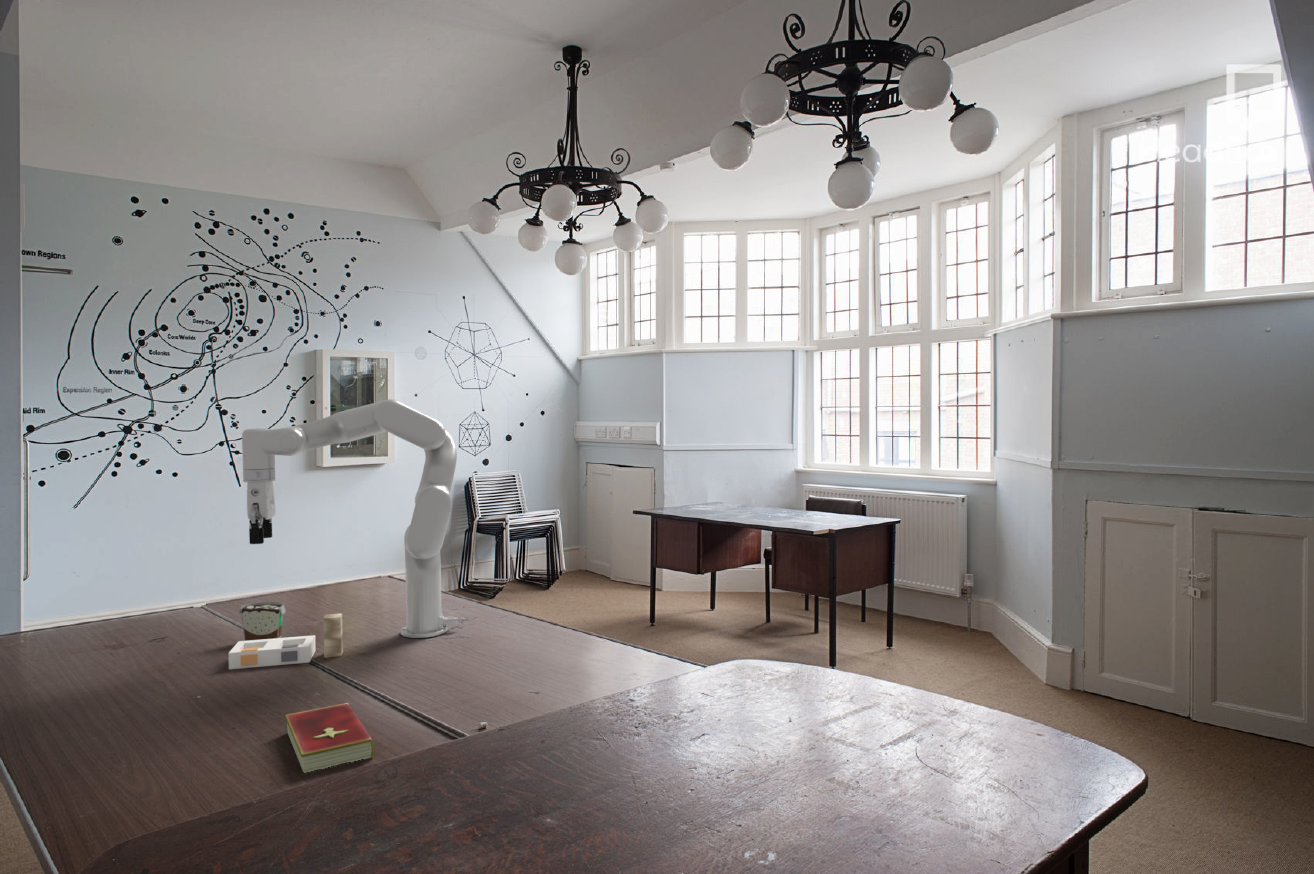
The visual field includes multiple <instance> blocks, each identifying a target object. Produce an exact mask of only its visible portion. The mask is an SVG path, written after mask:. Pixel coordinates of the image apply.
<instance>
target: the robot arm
mask: <svg viewBox="0 0 1314 874" xmlns="http://www.w3.org/2000/svg"><path fill="white" fill-rule="evenodd" d="M387 432H388V433H390V434H391V435H393V436H395V437H397V438H400V439H402V440H404V441H406V442H409V443H411V444H412V445H415V446H417V447H418V448H421V449H422V450H423V451H424V454H425V457H424V459H425V460H424V464H423V470H422V474H421V478H420V482H419V486H418V488H417V491H416V493H415V497H414V509H413V512H412V517H411V521H410V524H409V526H407V527H406V530H405V532H404V536H403V537H404V539H403V542H404V544H403V545H404V563H405V564H404V566H405V569H404V571H405V572H404V573H405V617H406V618H405V619H406V620H405V621H406V622H405V623H406V626H404V627H402V628H400V635H401V636H402V637H405V638H408V639H409V638H411V639H425V638H431V637H432V638H433V637H436V636H437V637H438V636H441V635H443V634H445V633H447V632H448V625H459V617H458V616H453V615H452V616H445V615H444V614H443V612H442V569H441V568H442V561H441V560H442V559H441V549H442V548H443V544H444V539H445V538H446V537H445V536H446V532H447V528H448V525H449V521H450V517H451V514H452V509H453V498H452V495H451V490H452V486H453V480H454V475H455V471H456V466H457V460H458V459H457V457H458V456H457V454H458V453H457V448H456V444H455V442H454V439H453V437H452V435H451V434H450V433H449V432H448V430H447V429H446V428H445V426H444V425H443V423H442V422H440V421H439V420H437V419H435V418H433V417H431V416H428V415H426V414H424V413H422V412H420V411H418V410H416V409H413V408H412V407H410V406H408V405H406V404H404V403H402V402H400V401H399V400H396V399H390V398H389V399H384V400H381V401H377V402H374V403H373V402H372V403H369V404H365V405H361V406H358V407H355V408H354V407H353V408H350V409H345V410H341V411H339V412H335V413H333V414H331V415H329V416H326V417H324V418H323V417H322V418H320V419H317V420H312V421H309V422H305V423H301V424H297V425H293V426H288V427H287V426H286V427H282V428H274V429H272V428H271V429H270V428H265V427H264V428H262V427H260V428H245V429H244V430H243V431H242V433H241V448H242V449H241V450H242V451H241V452H242V454H241V455H242V480H243V481H242V482H243V483H246V484H247V485H246V487H247V490H246V513H247V518H248V520H249V526H248V527H249V528H248V534H249V535H248V536H249V537H248V538H249V544H250V545H262V544H264V543H265V540H264V539H270V538H273V522H272V520H273V519H272V518H273V517H274V516H275V515H276V513H277V512H276V502H275V488H274V487H275V486H274V482H276V458H275V457H276V456H285V457H293V456H297V455H298V454H300V453H305V452H308V451H311V450H315V449H318V448H322V447H327V446H330V445H335V444H337V445H338V444H347V443H350V442H354V441H358V440H361V439H365V438H369V437H373V436H376V435H380V434H384V433H387Z"/></svg>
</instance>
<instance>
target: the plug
mask: <svg viewBox="0 0 1314 874" xmlns="http://www.w3.org/2000/svg"><path fill="white" fill-rule="evenodd" d="M322 621H323V655H324V656H323V658H334V657H336V658H337V657H342V656H343V653H344V637H343V635H344V633H343V631H344V630H343V627H344V626H343V613H341V612H340V613H328V614H327V613H326V614H324V617H323V620H322Z"/></svg>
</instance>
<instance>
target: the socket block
mask: <svg viewBox="0 0 1314 874" xmlns="http://www.w3.org/2000/svg"><path fill="white" fill-rule="evenodd" d="M315 652H316V635H302V636H291V637H290V636H289V637H288V636H287V637H281V638H274V639H262V640H249V641H244V640H238V641H237V643H236V644H235V645H234V646H232V648H231V650H230V651H229V652H228V654H227V655H228V670H239V669H248V668H250V669H251V668H260V667H261V668H262V667H271V666H281V665H282V666H283V665H294V664H305V663H306V664H307V663H311V660H312V658H313V656H314V654H315Z"/></svg>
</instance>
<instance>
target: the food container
mask: <svg viewBox="0 0 1314 874" xmlns="http://www.w3.org/2000/svg"><path fill="white" fill-rule="evenodd" d="M285 607H286V606H285V605H284V603H283V602H281V601H280V602H279V601H258V602H252V603H247V604H243V605H240V607H239V610H238V615H239V614H240V616H241V624H242V625H241V626H242V633H243V641H249V640H262V639H274V638H282V632H283V631H282V628H283V618H284V614H285V613H286V612H287V610H286V608H285Z"/></svg>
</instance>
